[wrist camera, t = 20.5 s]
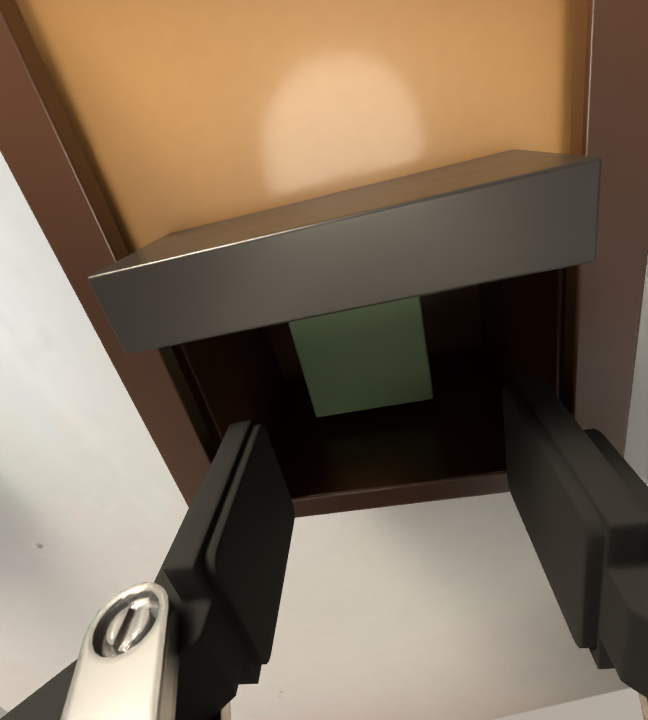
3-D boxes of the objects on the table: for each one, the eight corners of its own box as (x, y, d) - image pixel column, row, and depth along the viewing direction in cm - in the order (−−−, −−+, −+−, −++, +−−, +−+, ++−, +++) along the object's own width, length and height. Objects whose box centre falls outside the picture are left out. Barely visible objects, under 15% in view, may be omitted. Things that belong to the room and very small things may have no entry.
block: (403, 250, 15) (418, 284, 12) (417, 345, 17) (434, 399, 14) (299, 272, 16) (283, 311, 13) (323, 362, 18) (316, 418, 14)
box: (497, 351, 18) (616, 529, 10) (275, 389, 20) (220, 569, 11) (477, -39, 12) (728, -389, 4) (164, 60, 14) (-106, -47, 6)
